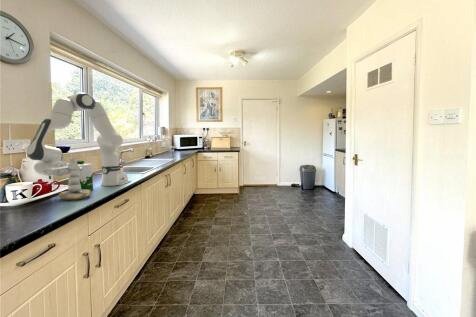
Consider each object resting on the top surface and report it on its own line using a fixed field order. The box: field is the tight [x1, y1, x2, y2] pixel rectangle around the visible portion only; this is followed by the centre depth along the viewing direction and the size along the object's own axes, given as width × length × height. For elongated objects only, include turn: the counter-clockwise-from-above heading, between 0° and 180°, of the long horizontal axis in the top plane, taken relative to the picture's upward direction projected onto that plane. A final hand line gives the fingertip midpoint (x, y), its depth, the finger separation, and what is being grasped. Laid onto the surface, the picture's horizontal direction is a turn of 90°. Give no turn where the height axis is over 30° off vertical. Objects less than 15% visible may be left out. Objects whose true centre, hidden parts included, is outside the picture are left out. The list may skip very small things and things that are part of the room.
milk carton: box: [77, 160, 94, 191], centre depth 172 cm, size 9×9×20 cm
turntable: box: [58, 189, 92, 200], centre depth 152 cm, size 16×16×2 cm
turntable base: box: [62, 196, 88, 202], centre depth 152 cm, size 12×12×2 cm
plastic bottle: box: [67, 158, 81, 193], centre depth 151 cm, size 6×7×20 cm
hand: (74, 170), depth 150 cm, fingers open, 8 cm apart
